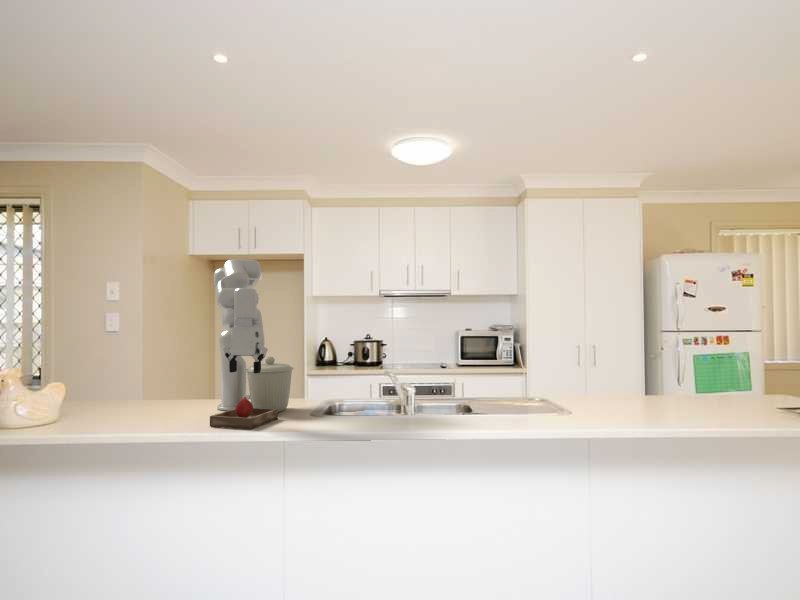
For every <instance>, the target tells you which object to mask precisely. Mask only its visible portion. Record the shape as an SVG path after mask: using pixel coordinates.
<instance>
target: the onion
mask: <svg viewBox="0 0 800 600" xmlns="http://www.w3.org/2000/svg"><path fill="white" fill-rule="evenodd" d="M246 398H247V397H246V396H245V397H243V398H242V399H241V400H240V401H239V402H238V403H237V405H236V407H235V413H236V414H237V416H239V417H243V418H247V417H249V416H250V415H251V414H252V411H253V405H252V403H251V400H250V399H249V400H247V399H246Z"/></svg>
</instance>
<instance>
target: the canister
mask: <svg viewBox="0 0 800 600" xmlns="http://www.w3.org/2000/svg"><path fill="white" fill-rule="evenodd" d="M264 360H265V363H261V372H260V373H256V374H255V373H254V364H253V365H251V366H248V367H247V368H246V374H247V382H248V391H249V395H250V399H249V401H250V402H251V403H252V405H253V408H265V409H278V413H281V412H283V411H285V410H287V407H288V405H289V400H290V399H289V398H290V393H291V385H292V383H291V382H292V374H293V373H292V372H293V370H294V369H295V368H294V366H293V367H292V366H291V365H290V364H287V363H275V360H276V359H275V357H274V356H267V357H266V358H265V359H264Z"/></svg>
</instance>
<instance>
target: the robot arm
mask: <svg viewBox="0 0 800 600" xmlns="http://www.w3.org/2000/svg"><path fill="white" fill-rule="evenodd" d="M261 275H262V267H261V264H260V263H259V261H258V260H255V259H247V258H232V259H228V260H227V261H226V262H225V263H224V265H223V267H220V268H218V269H216V270H215V271H214V273H213V284H214V288H215V298H216V303H217V305H218V306H219V308H220V311H221V313H220V314H221V323H222V326H223V328H224V329H226V330H224V331H222V332H221V333H220V334H219V338H218V339H219V340H218V341H219V349H220V359H221V376H220V377H221V378H220V379H221V380H220V381H221V384H220V385H221V394H220V395H221V397H220V398H221V401H220V402H221V403H220V404H217V406H216V408H217V410H219V411H229V410H232V409H235V407H236V405H237V403H238V402H239V401H240V400H241V399H242V398H243V397H245V396H246V397H247V398H246V399H247V400H249V401H250V394H247V372H246V369H247V362H246V360H245V359H244V358H243V357H252V358H253V360H254V361H253V365H254V373H255V374H256V373H260V372H261V364H262V361H264V360H263V359H264V358H265V357H266V355H267V353H268V350H269V349H268V348H267V347H265V344H266V343H265V342H266V341H265V333H264V331H265V330H264V325H263V318H262V312H261V310H260V309H259V308H257V307H258V306H257V305H258V304H259V299H260V298H259V294H258V292H257V290H256V289H255V286H256V285H257V284H258V282H259V281H260V278H261Z"/></svg>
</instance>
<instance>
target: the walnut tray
mask: <svg viewBox="0 0 800 600" xmlns="http://www.w3.org/2000/svg"><path fill="white" fill-rule="evenodd" d="M278 419H279V412H278V409H265V408H253V411H252V414H251V415H250V416H249V417H247V418H243V417H239V416H237V414H236V413H235V409H232V410H224V411H222V412H219V413H215V414H213V415H212V414H211V415H209V427H210V426H211V427H210V428H221V427H224V428H225V429H236V430H237V429H239V430H254V429H256V428H260V427H261V426H264V425H267V424H268V423H271V422H274V421H276V420H278ZM224 428H223V429H224Z"/></svg>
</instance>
